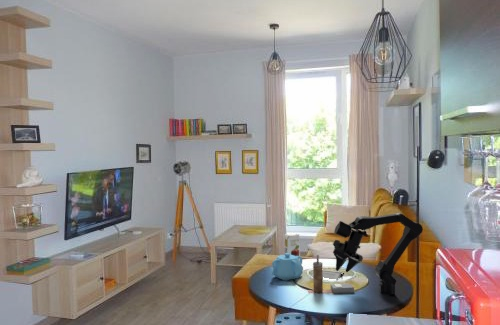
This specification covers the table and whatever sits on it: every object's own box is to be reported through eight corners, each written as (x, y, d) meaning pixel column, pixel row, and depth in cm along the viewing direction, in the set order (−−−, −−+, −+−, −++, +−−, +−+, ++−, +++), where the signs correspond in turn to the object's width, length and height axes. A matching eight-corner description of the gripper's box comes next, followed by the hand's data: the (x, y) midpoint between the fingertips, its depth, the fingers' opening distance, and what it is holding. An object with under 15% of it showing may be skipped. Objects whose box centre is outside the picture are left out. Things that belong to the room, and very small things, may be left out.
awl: (323, 290, 193) (322, 254, 193) (322, 293, 189) (321, 256, 189) (314, 289, 195) (313, 253, 194) (313, 292, 190) (312, 255, 190)
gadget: (319, 270, 232) (319, 264, 232) (344, 273, 226) (344, 267, 226) (308, 282, 211) (308, 275, 211) (336, 285, 205) (336, 278, 205)
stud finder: (350, 288, 196) (350, 282, 196) (354, 292, 190) (354, 286, 190) (330, 288, 195) (330, 283, 195) (333, 293, 189) (333, 287, 189)
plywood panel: (350, 290, 196) (350, 288, 196) (361, 302, 180) (361, 300, 180) (306, 292, 195) (306, 289, 195) (313, 304, 179) (313, 301, 179)
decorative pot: (279, 272, 229) (279, 248, 229) (306, 275, 222) (305, 251, 222) (268, 280, 215) (268, 255, 214) (296, 283, 208) (296, 258, 207)
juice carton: (283, 263, 246) (282, 233, 246) (295, 261, 250) (294, 232, 249) (289, 266, 239) (289, 235, 239) (301, 264, 243) (301, 234, 242)
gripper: (350, 237, 201) (338, 265, 202) (330, 232, 189) (318, 262, 189) (368, 246, 193) (356, 275, 194) (349, 242, 180) (336, 273, 181)
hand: (341, 271), depth 190 cm, fingers open, 9 cm apart
